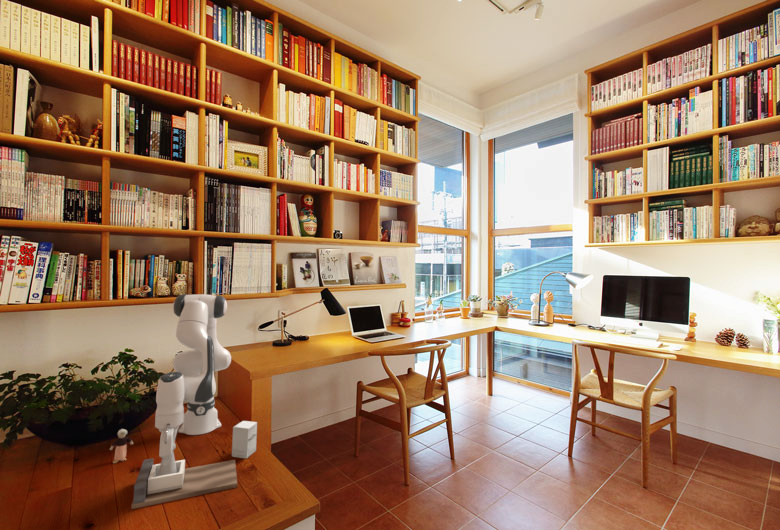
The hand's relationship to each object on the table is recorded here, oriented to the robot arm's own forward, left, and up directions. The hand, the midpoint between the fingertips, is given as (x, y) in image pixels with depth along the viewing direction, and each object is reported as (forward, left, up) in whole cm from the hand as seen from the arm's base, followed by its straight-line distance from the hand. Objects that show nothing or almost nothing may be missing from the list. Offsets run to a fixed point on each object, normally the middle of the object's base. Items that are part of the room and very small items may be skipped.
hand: (168, 457), depth 132 cm
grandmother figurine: (-29, -19, -11) cm, 36 cm away
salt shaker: (0, 0, -8) cm, 8 cm away
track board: (0, +7, -11) cm, 13 cm away
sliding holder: (0, 0, -9) cm, 9 cm away
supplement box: (-16, +27, -11) cm, 33 cm away
